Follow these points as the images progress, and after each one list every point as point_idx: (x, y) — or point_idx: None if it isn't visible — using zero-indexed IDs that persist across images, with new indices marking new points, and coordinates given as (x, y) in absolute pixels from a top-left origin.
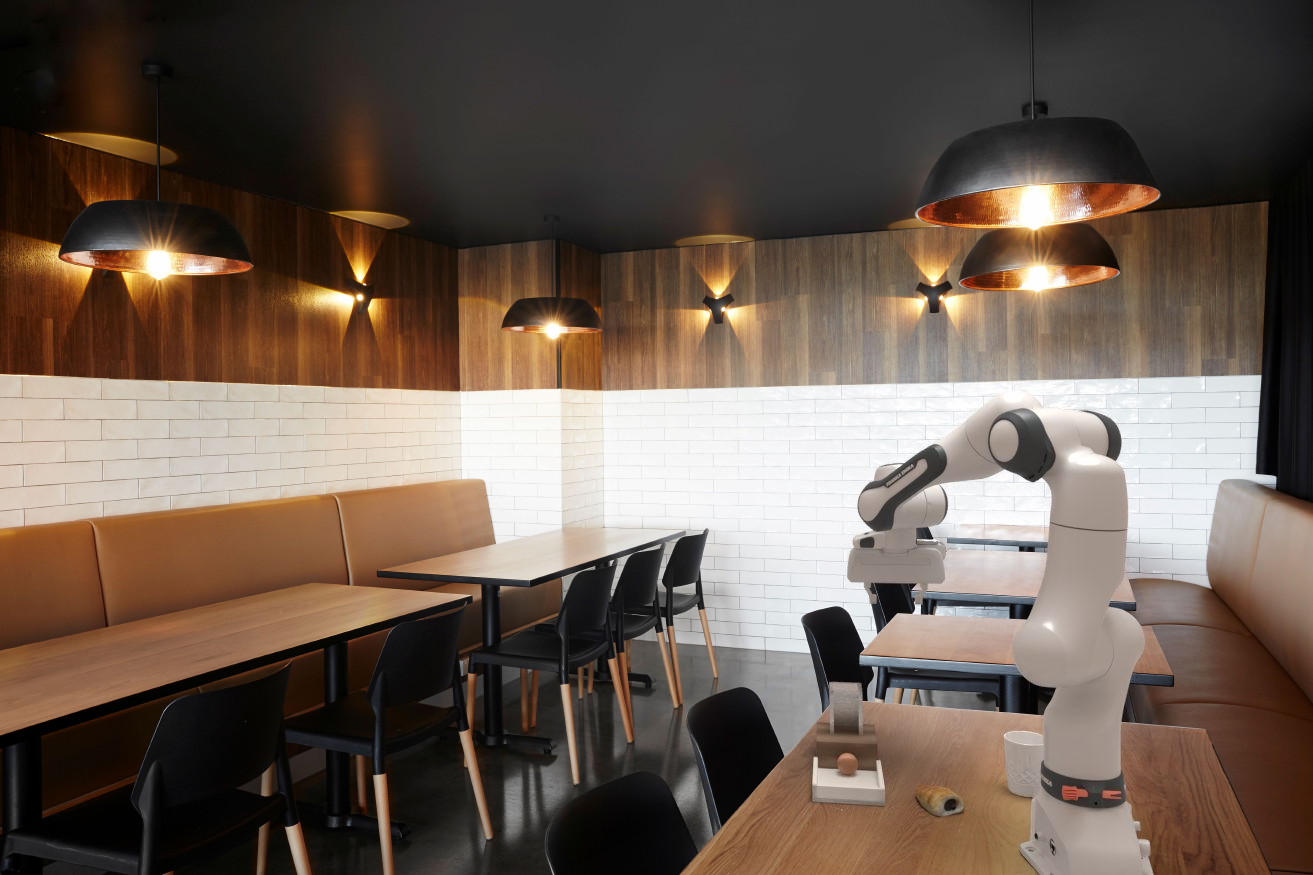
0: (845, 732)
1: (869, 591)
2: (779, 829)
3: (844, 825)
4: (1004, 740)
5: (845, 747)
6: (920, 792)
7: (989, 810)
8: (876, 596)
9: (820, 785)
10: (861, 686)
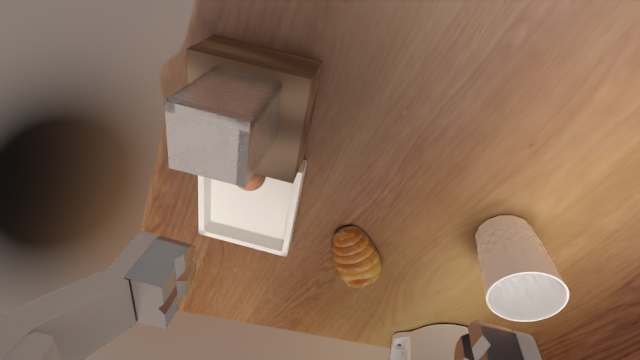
0: None
1: (91, 347)
2: None
3: (240, 270)
4: (487, 284)
5: None
6: (333, 256)
7: (412, 269)
8: (168, 323)
9: (208, 234)
10: (247, 152)
